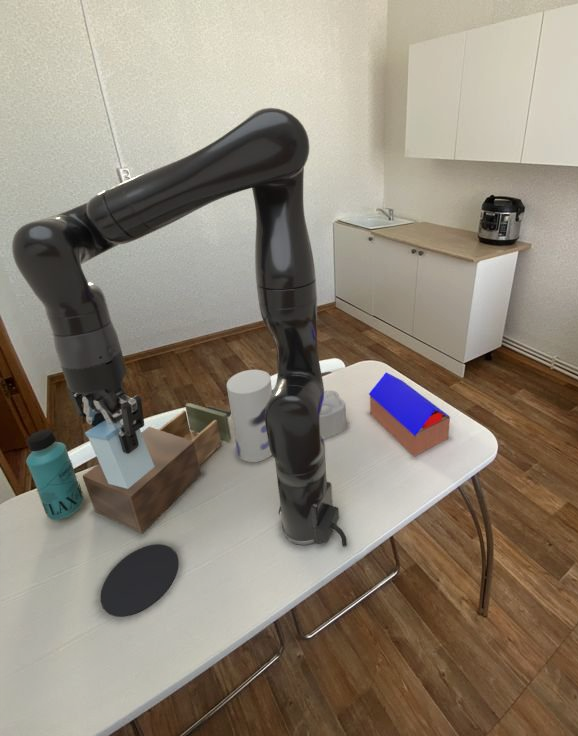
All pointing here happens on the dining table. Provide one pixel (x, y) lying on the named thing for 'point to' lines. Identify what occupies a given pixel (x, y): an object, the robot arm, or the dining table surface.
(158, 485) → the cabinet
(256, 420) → the container
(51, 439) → the beverage bottle
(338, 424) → the lumpy-topped squat cylinder
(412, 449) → the house
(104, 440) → the canister
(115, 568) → the mat
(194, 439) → the drawer
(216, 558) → the dining table surface
